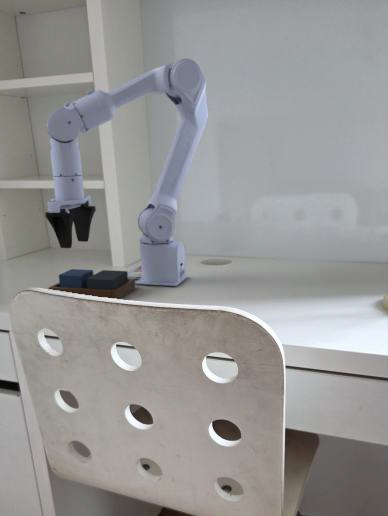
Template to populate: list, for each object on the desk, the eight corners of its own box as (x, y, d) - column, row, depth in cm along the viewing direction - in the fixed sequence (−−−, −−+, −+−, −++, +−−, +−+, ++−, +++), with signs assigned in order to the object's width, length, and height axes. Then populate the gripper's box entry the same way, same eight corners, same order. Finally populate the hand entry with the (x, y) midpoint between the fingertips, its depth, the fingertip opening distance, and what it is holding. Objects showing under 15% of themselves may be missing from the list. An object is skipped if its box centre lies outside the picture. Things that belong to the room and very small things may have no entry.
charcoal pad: (128, 287, 110) (127, 271, 109) (113, 296, 103) (112, 279, 102) (104, 285, 111) (102, 270, 110) (87, 295, 105) (86, 278, 103)
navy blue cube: (94, 286, 111) (92, 270, 110) (82, 293, 106) (80, 275, 105) (73, 285, 112) (71, 269, 111) (60, 292, 107) (58, 274, 106)
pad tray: (135, 288, 111) (134, 278, 110) (116, 301, 102) (115, 291, 101) (73, 285, 115) (72, 275, 114) (49, 297, 106) (48, 287, 105)
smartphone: (122, 275, 119) (146, 261, 132) (123, 279, 119) (146, 265, 132) (153, 276, 117) (173, 262, 130) (153, 280, 117) (174, 266, 130)
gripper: (67, 173, 112) (73, 238, 116) (30, 178, 99) (39, 250, 103) (97, 173, 110) (103, 238, 115) (63, 178, 97) (71, 251, 102)
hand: (74, 244), depth 109 cm, fingers open, 7 cm apart
